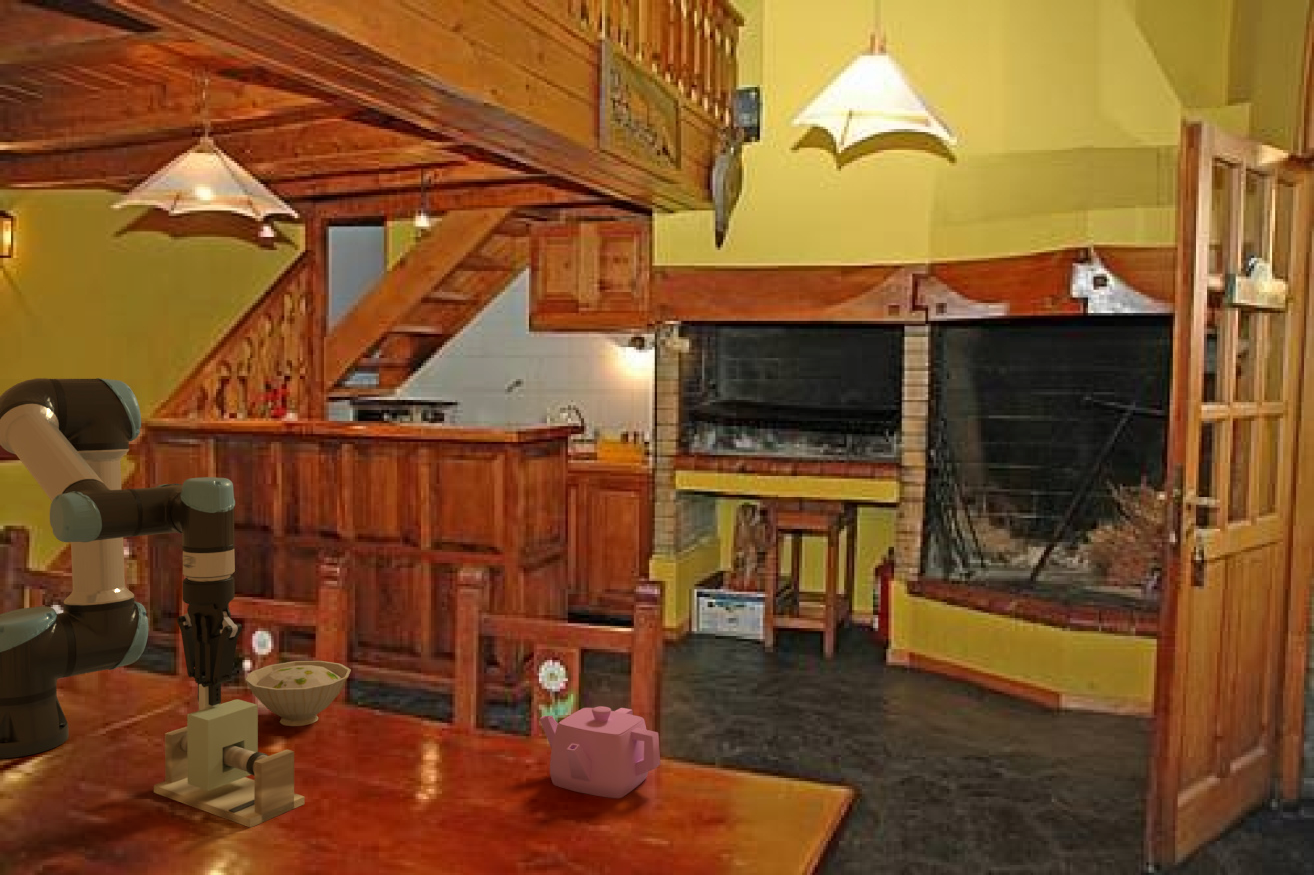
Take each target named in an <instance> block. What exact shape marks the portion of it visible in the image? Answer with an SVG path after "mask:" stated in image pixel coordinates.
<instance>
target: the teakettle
mask: <svg viewBox="0 0 1314 875" xmlns="http://www.w3.org/2000/svg"><path fill="white" fill-rule="evenodd" d="M539 721H540V724H541V726H542V729H543V731H544V733H545V734H544V735H545V736H546V738H547V741H548V744H549V746H550V748H551V751H550V753H551V754H550V761H549V763H550V764H549V776H550V778H551V782H552V785H554V786H555V787H558V788H562V789H566V790H569V791H573V792H576V793H581V794H585V795H591V796H598V797H602V798H608V799H621V798H624V797H625V796H627V795H629V793H630V792H632V791H634V790H635V789H636V788H638V787H639V786H640V785H641V784H642V783H643V782H644V781H646V779H647V777H648V774H649V772H651V771H652V770H653V771H654V770H655V769H657V767H659V766H660V765H661V755H660V754H661V753H660V741H659V740H660V739H659V732H657V731H653V730H648V729H647V726H646V722H645V718H644V717H641V716H639V715H636V714H635V715H634V714H633V709H631V708H626V707H620V708H617V709H616V710H612V708H610V707H608V706H604V705H603V706H602V705H601V706H595V707H583V708H580V709H579V710H576V711H575V712H574V713H571V714H570V715H568V716H567V717H565V718H563V719H562V720H560V721H559V722H557V721H556V719H555V718H554V717H553V715H543V716H541V717H539Z"/></svg>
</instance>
